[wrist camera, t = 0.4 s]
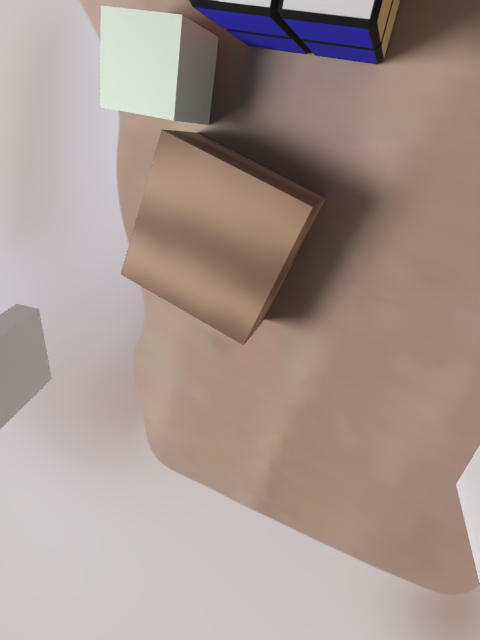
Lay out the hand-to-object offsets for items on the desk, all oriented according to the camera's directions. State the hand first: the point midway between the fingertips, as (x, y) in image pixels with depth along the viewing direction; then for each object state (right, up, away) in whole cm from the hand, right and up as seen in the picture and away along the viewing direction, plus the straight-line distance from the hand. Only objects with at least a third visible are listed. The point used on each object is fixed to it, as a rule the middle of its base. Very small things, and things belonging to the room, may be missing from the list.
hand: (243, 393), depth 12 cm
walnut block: (-1, +10, +24) cm, 26 cm away
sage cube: (-5, +22, +21) cm, 30 cm away
